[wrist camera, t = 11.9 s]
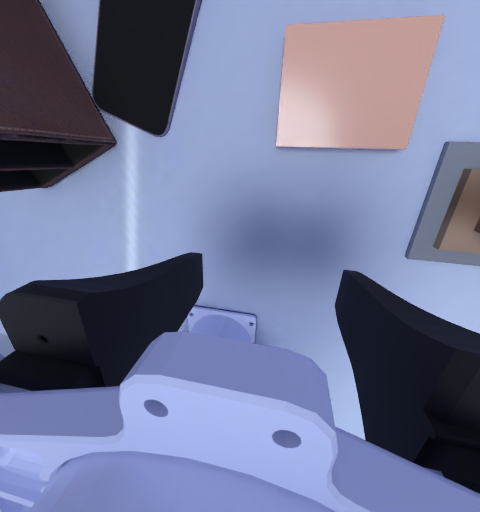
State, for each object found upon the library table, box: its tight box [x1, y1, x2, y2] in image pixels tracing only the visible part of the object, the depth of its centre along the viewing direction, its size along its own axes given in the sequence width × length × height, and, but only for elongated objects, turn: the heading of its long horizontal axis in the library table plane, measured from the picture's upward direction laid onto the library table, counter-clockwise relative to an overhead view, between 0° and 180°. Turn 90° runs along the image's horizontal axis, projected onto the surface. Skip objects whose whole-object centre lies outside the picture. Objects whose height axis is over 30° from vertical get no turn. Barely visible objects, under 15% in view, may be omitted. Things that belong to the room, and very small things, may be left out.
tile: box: [276, 15, 445, 150], centre depth 16 cm, size 2×9×7 cm
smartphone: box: [92, 0, 201, 137], centre depth 17 cm, size 7×1×15 cm
